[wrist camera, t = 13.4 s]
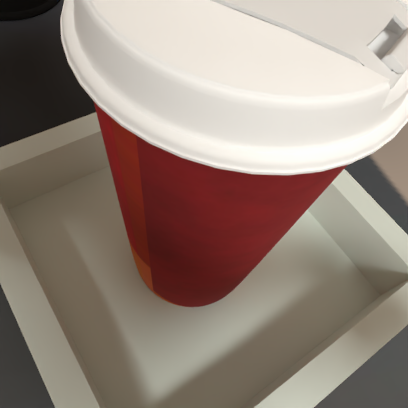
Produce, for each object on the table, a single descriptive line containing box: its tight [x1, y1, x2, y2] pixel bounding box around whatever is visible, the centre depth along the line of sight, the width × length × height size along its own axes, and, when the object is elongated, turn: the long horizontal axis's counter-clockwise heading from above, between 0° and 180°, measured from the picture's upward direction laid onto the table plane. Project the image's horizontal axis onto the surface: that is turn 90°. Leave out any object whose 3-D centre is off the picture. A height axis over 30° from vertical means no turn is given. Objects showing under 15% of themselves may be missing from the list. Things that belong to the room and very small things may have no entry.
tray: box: [0, 112, 408, 408], centre depth 18 cm, size 16×16×4 cm
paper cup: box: [60, 0, 408, 307], centre depth 13 cm, size 8×8×14 cm
